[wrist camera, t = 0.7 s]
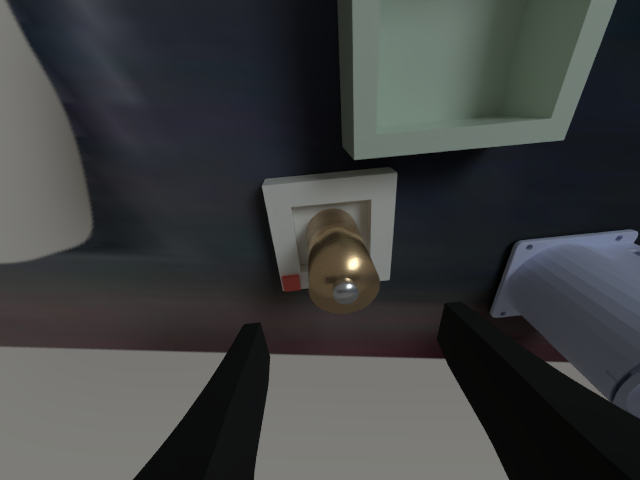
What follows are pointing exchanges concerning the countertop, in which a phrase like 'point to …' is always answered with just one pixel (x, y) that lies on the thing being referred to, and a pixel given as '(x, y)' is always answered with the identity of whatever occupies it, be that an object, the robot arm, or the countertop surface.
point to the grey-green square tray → (462, 72)
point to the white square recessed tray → (326, 193)
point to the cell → (339, 264)
